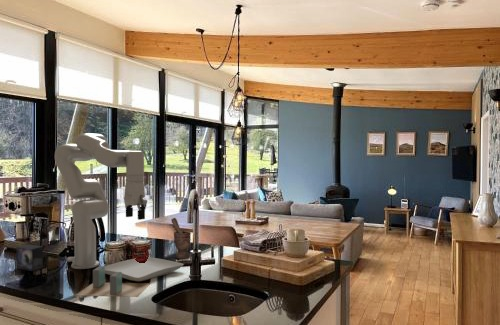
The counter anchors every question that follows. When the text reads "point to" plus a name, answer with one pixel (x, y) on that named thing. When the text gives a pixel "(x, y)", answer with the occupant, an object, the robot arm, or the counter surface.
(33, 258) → the small box
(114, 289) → the tile
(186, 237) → the mortar and pestle
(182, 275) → the counter surface
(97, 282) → the tile
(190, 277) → the counter surface
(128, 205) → the robot arm
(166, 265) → the square plate
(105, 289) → the cork mat
